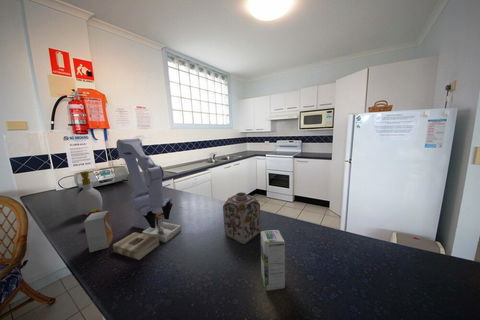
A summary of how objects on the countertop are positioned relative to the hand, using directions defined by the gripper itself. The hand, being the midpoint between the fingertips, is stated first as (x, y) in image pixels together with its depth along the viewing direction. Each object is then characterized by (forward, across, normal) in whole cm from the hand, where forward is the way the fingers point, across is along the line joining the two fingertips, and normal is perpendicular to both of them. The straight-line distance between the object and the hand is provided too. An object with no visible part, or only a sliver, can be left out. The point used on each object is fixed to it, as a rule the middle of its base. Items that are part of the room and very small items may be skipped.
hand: (160, 223), depth 76 cm
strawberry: (+6, -4, +41) cm, 42 cm away
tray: (+5, 0, 0) cm, 5 cm away
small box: (+6, -14, +19) cm, 24 cm away
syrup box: (+6, -8, -52) cm, 53 cm away
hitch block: (+5, -10, +2) cm, 12 cm away
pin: (+5, 0, 0) cm, 5 cm away
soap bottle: (+6, +4, +60) cm, 60 cm away
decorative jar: (+6, +12, -35) cm, 37 cm away
